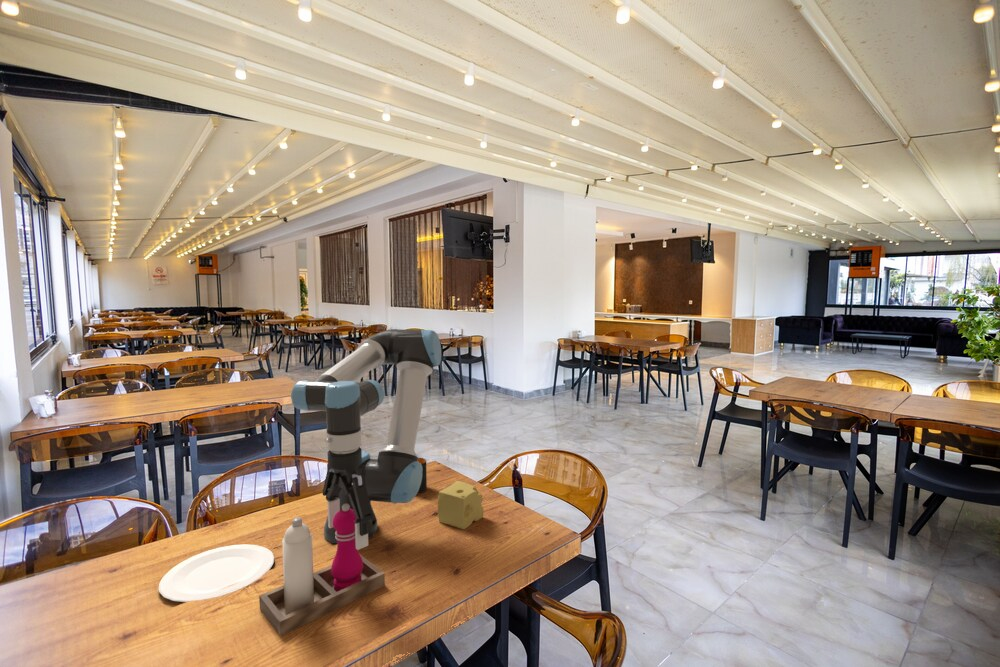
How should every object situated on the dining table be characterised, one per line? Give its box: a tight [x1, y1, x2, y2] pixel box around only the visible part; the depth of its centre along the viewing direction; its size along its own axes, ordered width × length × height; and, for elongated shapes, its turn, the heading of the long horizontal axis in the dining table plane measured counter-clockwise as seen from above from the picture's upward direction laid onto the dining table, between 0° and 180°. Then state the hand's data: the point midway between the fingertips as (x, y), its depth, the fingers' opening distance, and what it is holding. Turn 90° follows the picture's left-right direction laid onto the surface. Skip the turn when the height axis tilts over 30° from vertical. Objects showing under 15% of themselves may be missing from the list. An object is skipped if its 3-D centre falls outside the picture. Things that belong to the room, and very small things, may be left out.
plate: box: [158, 543, 275, 603], centre depth 120 cm, size 25×25×2 cm
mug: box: [416, 457, 428, 495], centre depth 170 cm, size 8×12×10 cm
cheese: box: [437, 480, 485, 530], centre depth 149 cm, size 10×11×10 cm
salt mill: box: [281, 517, 314, 615], centre depth 104 cm, size 6×6×20 cm
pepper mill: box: [330, 504, 363, 592], centre depth 112 cm, size 7×7×20 cm
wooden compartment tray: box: [258, 555, 386, 637], centre depth 109 cm, size 24×12×4 cm, turn 135°
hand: (347, 536), depth 112 cm, fingers open, 13 cm apart
